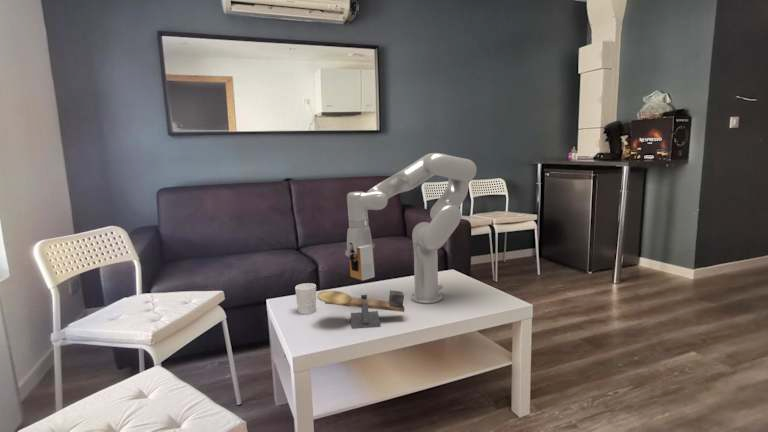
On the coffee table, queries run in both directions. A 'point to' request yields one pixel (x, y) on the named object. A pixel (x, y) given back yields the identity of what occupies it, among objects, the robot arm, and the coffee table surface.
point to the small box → (364, 263)
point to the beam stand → (365, 317)
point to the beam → (363, 300)
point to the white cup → (306, 298)
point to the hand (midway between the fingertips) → (361, 267)
